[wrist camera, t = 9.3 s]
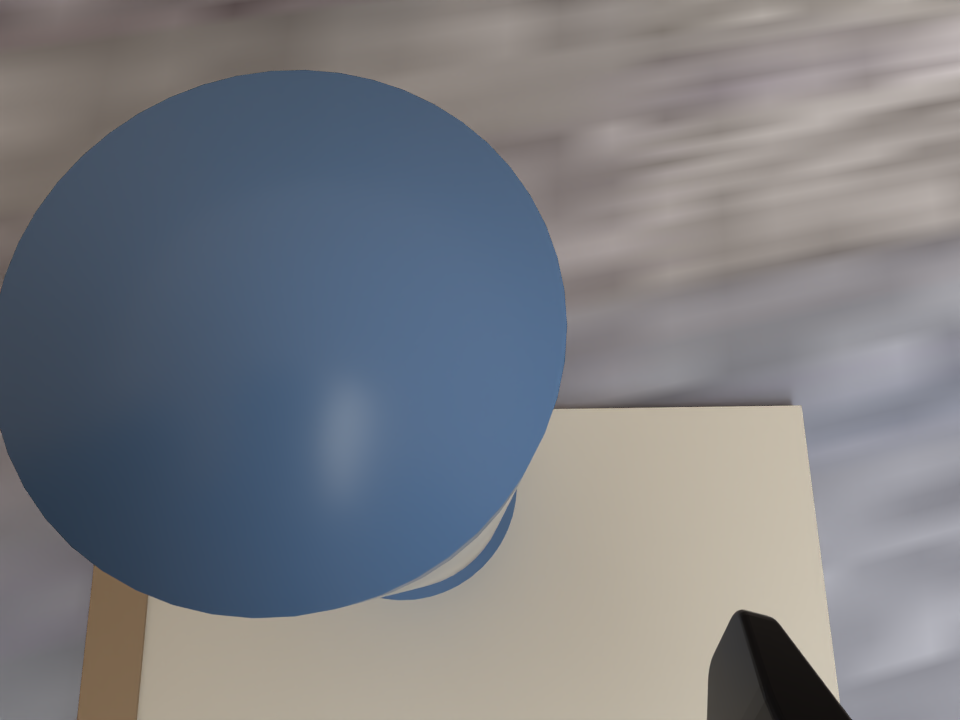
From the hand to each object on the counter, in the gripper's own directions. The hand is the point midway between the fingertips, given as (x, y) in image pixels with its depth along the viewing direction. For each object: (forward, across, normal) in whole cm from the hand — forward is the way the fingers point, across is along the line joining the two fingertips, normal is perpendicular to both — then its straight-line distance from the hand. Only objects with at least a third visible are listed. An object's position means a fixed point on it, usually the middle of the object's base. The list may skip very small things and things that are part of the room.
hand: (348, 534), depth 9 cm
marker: (+7, 0, +5) cm, 9 cm away
